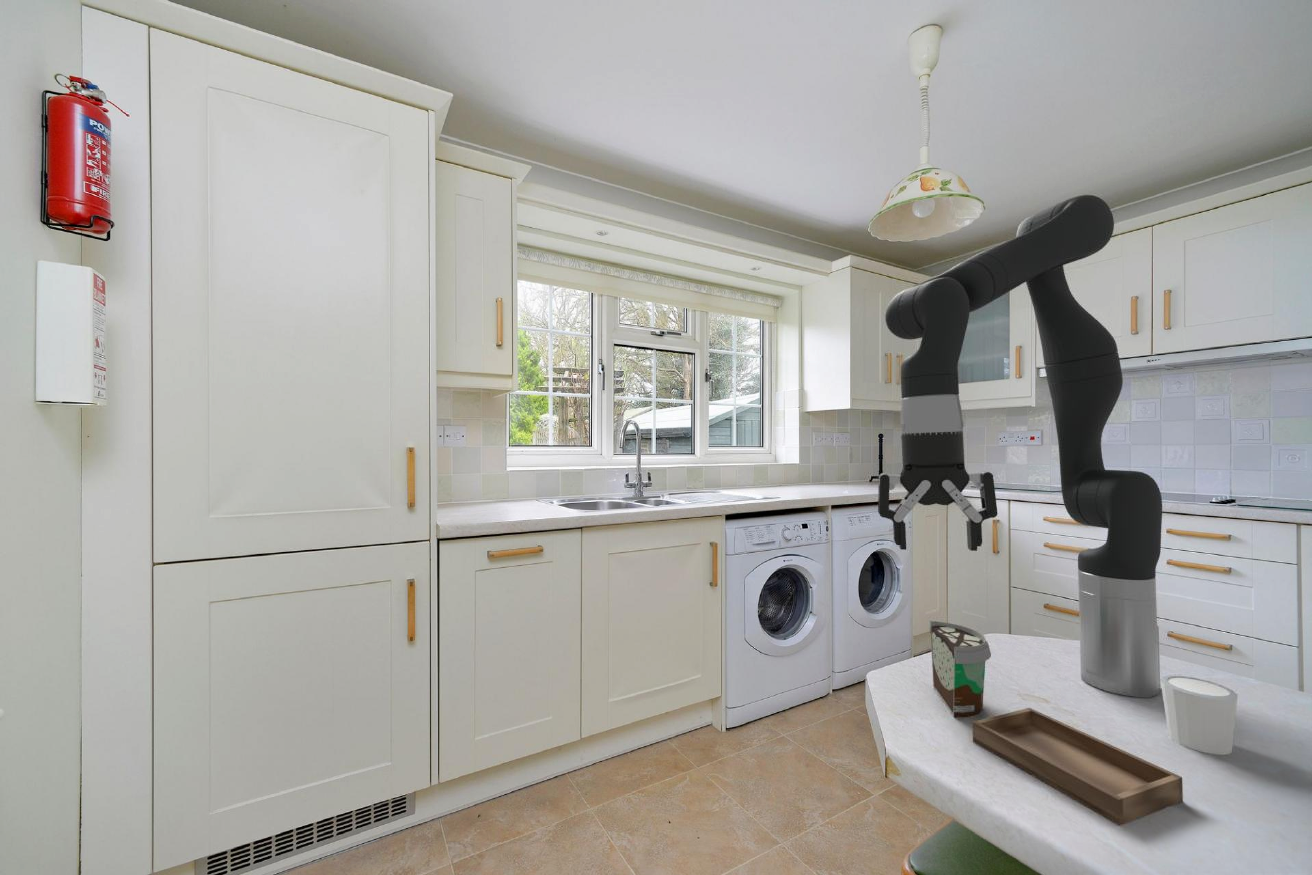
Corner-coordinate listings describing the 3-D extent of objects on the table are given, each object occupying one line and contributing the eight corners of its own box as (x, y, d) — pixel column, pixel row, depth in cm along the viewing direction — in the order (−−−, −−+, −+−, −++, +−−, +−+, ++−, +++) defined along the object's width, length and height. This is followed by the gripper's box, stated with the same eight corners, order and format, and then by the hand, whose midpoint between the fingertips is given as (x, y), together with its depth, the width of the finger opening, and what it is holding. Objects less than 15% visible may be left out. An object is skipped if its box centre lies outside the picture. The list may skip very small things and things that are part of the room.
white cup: (1226, 763, 63) (1224, 703, 63) (1151, 736, 69) (1150, 681, 69) (1249, 748, 66) (1247, 690, 66) (1175, 723, 72) (1174, 670, 73)
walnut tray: (1029, 726, 72) (1029, 707, 72) (1182, 801, 57) (1182, 777, 57) (972, 741, 68) (972, 721, 68) (1119, 825, 53) (1118, 799, 53)
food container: (1008, 726, 72) (1006, 651, 72) (957, 722, 73) (955, 648, 73) (973, 686, 84) (971, 621, 84) (930, 683, 85) (929, 619, 85)
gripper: (983, 428, 75) (989, 545, 75) (873, 432, 80) (878, 543, 79) (999, 427, 68) (1005, 556, 68) (877, 432, 72) (882, 553, 72)
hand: (936, 549), depth 74 cm, fingers open, 8 cm apart
